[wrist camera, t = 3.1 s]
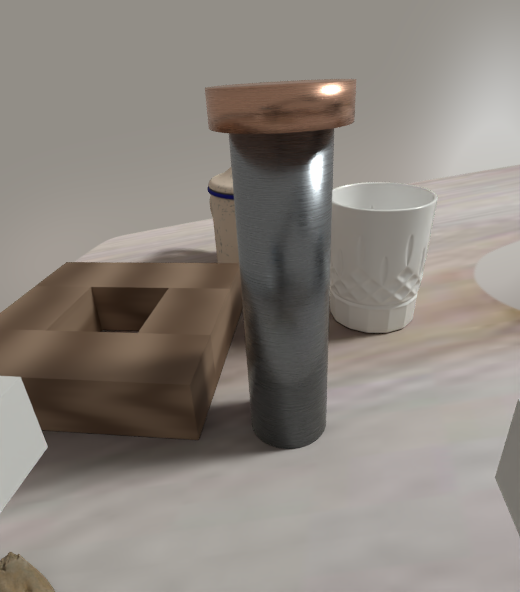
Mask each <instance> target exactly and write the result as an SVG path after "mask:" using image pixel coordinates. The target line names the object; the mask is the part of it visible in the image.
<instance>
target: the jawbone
mask: <svg viewBox="0 0 520 592" xmlns="http://www.w3.org/2000/svg"><path fill="white" fill-rule="evenodd" d="M0 592H55V591H54V589H53V587H52V586H51V585H50V583H49V582H48V581H47V579H46V578H45V577H44V576H43V575H42V574H41V573H40V572H39V571H38V570H37V569H36V568H35V567H33V566H32V565H31V564H30V563H29V562H27V561H26V560H25V559H24V558H23V557H22V556H21V555H20V554H18V555H16V554H13V553H12V552H9V553H8V555H7V556H5V557H4V558H2V559H1V561H0Z"/></svg>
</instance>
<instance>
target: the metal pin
mask: <svg viewBox="0 0 520 592" xmlns="http://www.w3.org/2000/svg"><path fill="white" fill-rule="evenodd" d="M205 94H206V104H207V114H208V124H209V129H210V130H212V131H216V132H222V133H229V142H230V153H231V167H232V179H233V192H234V204H235V217H236V230H237V242H238V255H239V267H240V280H241V292H242V305H243V317H244V330H245V342H246V355H247V367H248V380H249V392H250V405H251V417H252V426H253V429H254V432H255V433H256V435H257V436H258V437H259V438H260V439H261V440H263V441H264V442H266V443H267V444H270V445H272V446H275V447H279V448H286V449H292V448H299V447H303V446H306V445H309V444H311V443H313V442H314V441H316V440H317V439H318V438H319V437H320V436H321V435H322V433H323V432H324V429H325V426H326V404H327V368H328V332H329V296H330V260H331V223H332V187H333V151H334V128H337V127H341V126H346V125H349V124H352V123H353V122H354V114H355V94H356V79H324V80H301V81H280V82H264V83H248V84H235V85H223V86H214V87H207V88H205Z"/></svg>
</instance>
